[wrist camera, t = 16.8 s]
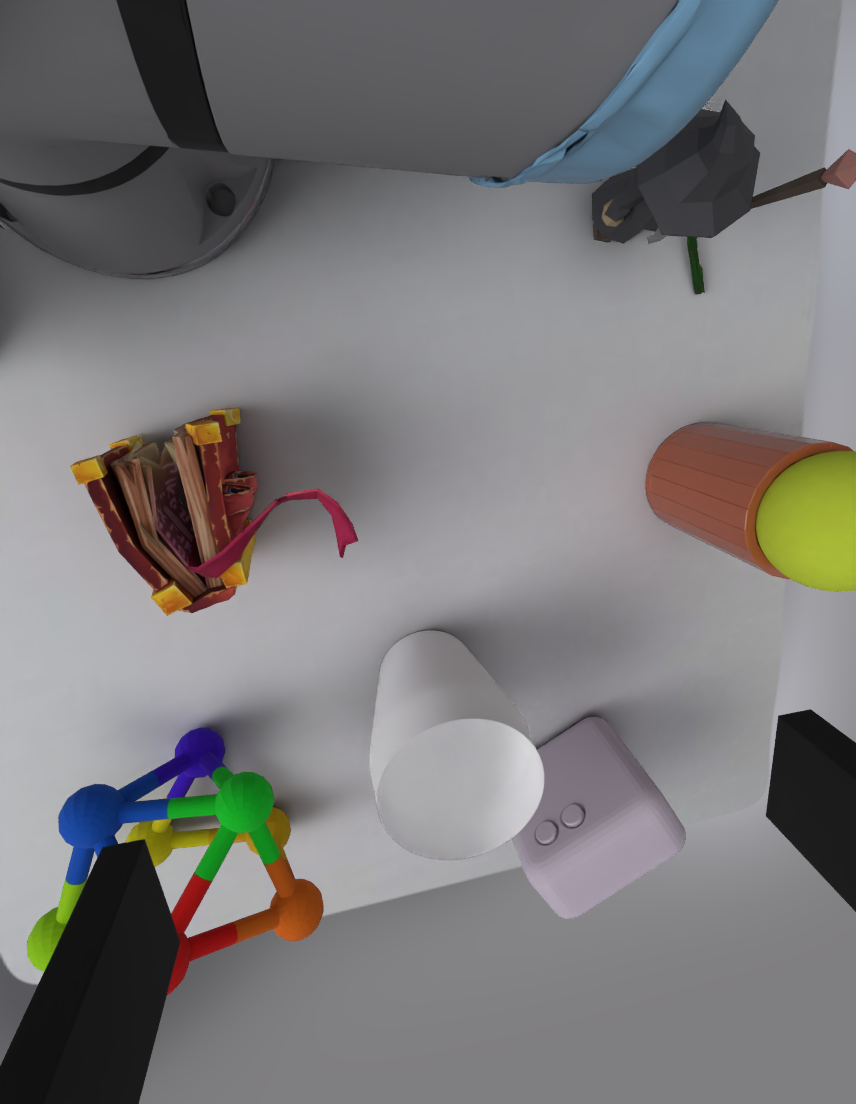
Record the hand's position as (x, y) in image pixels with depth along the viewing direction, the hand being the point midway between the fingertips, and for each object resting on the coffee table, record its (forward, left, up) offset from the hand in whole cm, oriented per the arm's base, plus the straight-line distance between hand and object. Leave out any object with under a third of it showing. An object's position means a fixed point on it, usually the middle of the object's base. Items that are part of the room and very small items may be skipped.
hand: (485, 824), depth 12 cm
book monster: (-2, -8, -26) cm, 28 cm away
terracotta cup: (0, +21, -26) cm, 34 cm away
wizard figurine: (-16, +16, -26) cm, 35 cm away
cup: (+12, +2, -26) cm, 29 cm away
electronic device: (+21, +11, -26) cm, 35 cm away
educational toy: (+17, -14, -26) cm, 35 cm away
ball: (0, +21, -15) cm, 26 cm away
